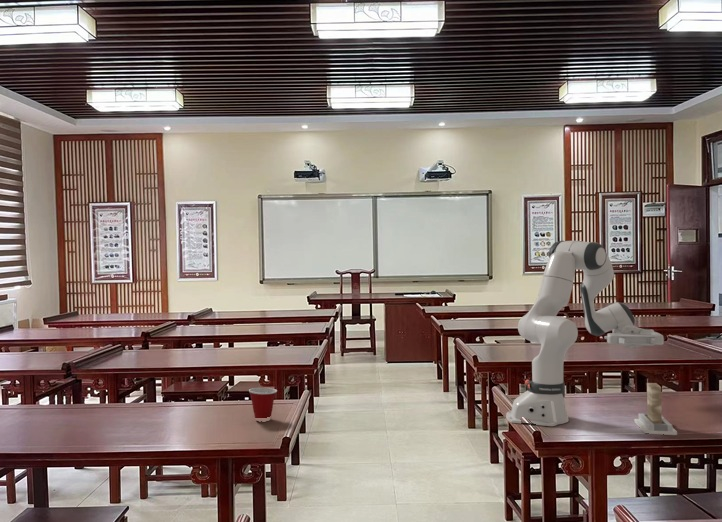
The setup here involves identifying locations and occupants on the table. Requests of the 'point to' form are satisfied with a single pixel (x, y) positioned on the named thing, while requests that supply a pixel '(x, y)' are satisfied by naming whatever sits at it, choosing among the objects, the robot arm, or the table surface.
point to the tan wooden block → (654, 403)
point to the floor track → (654, 425)
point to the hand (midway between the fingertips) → (639, 341)
